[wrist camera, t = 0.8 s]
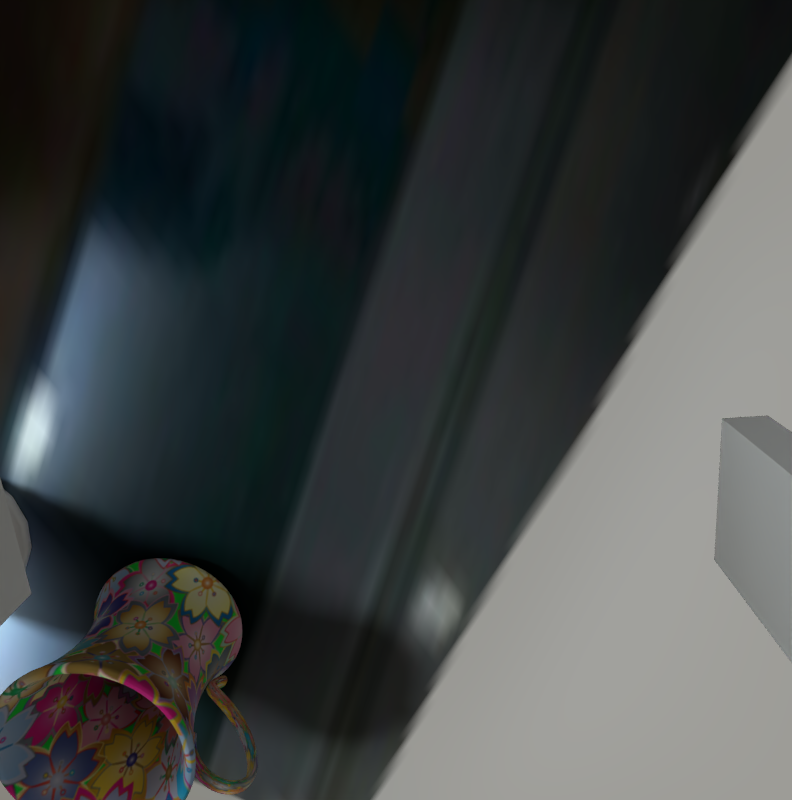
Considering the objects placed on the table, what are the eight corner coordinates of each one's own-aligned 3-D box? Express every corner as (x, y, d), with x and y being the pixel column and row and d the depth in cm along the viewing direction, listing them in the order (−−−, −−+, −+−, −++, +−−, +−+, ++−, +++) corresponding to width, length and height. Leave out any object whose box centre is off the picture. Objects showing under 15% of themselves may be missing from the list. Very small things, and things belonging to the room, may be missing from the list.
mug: (73, 638, 42) (-43, 784, 32) (131, 516, 39) (25, 632, 29) (254, 724, 43) (198, 892, 33) (322, 611, 40) (284, 755, 30)
